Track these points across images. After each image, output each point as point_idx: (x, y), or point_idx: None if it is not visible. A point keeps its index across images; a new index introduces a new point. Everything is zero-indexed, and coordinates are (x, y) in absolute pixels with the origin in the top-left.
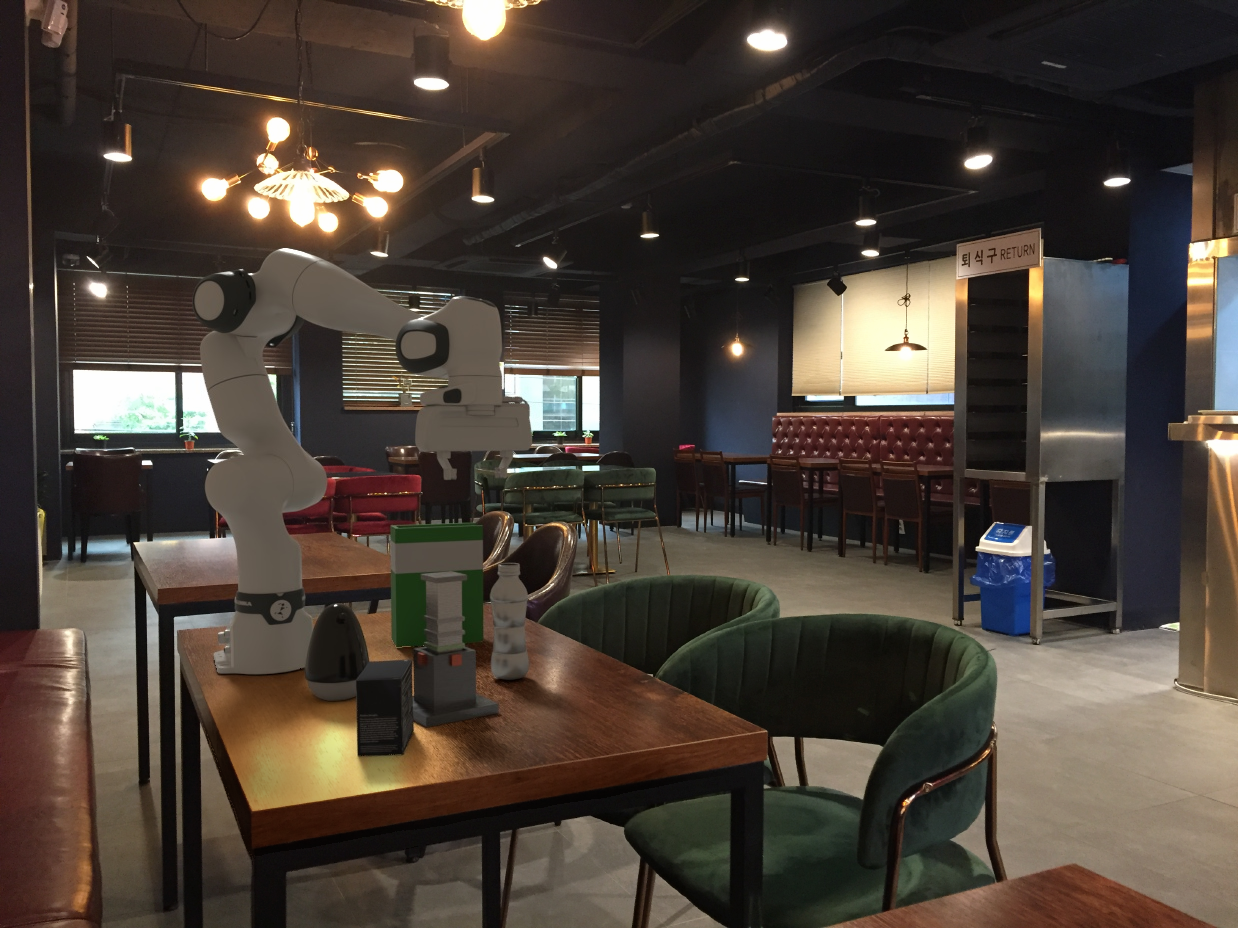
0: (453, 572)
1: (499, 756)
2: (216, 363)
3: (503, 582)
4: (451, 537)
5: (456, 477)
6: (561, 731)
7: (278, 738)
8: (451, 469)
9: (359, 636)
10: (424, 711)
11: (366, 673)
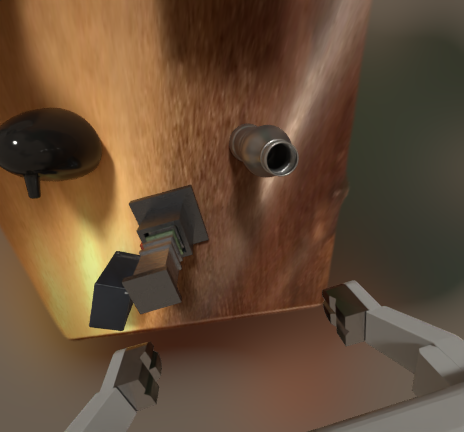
0: (167, 280)
1: (189, 305)
2: None
3: (261, 167)
4: None
5: (160, 369)
6: (233, 279)
7: (47, 244)
8: (134, 410)
9: (70, 169)
10: None
11: (95, 316)
